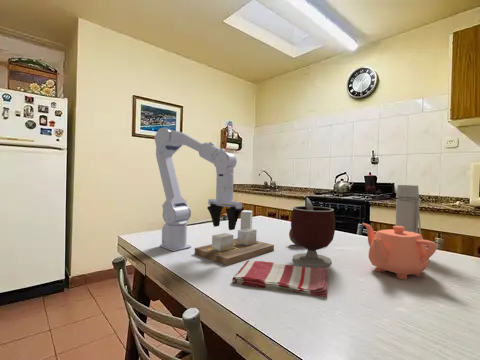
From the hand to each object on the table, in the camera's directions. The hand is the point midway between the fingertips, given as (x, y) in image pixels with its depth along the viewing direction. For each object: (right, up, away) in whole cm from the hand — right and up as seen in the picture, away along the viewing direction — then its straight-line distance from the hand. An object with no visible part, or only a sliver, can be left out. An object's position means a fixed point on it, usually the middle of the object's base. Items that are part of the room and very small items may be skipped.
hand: (223, 227), depth 90 cm
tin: (+32, -10, +17) cm, 38 cm away
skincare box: (+8, -9, +25) cm, 28 cm away
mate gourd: (+29, -10, -2) cm, 31 cm away
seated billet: (+8, -9, +9) cm, 15 cm away
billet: (0, -9, 0) cm, 9 cm away
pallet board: (+4, -9, +4) cm, 11 cm away
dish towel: (+17, -11, -18) cm, 27 cm away
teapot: (+50, -11, -12) cm, 53 cm away
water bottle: (+67, -11, +8) cm, 69 cm away
